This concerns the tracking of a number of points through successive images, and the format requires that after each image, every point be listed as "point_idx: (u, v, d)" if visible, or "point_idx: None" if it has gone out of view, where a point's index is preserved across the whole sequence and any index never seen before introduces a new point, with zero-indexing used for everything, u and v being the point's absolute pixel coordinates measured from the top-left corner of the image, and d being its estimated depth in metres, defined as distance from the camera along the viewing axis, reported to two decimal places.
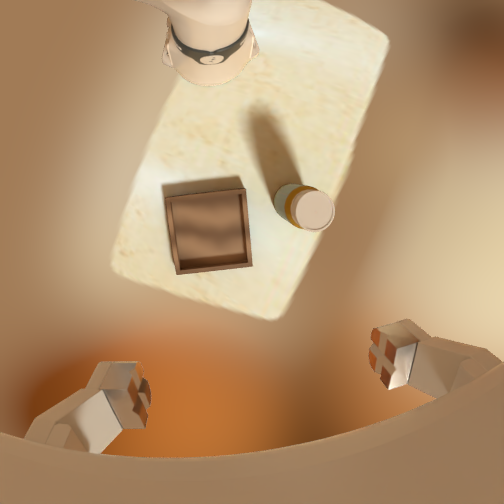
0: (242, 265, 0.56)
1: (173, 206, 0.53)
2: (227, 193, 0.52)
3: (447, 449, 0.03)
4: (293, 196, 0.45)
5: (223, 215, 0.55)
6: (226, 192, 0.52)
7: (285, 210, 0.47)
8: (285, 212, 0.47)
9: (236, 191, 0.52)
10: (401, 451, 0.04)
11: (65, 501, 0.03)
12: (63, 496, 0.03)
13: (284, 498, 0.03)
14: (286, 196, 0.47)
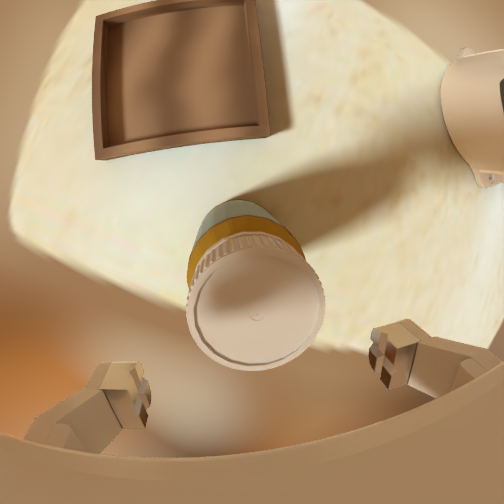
0: (97, 137, 0.21)
1: (233, 7, 0.20)
2: (260, 95, 0.21)
3: (447, 449, 0.03)
4: (285, 238, 0.15)
5: (208, 93, 0.22)
6: (262, 93, 0.21)
7: (238, 218, 0.16)
8: (232, 218, 0.16)
9: (264, 114, 0.22)
10: (401, 451, 0.04)
11: (65, 501, 0.03)
12: (63, 496, 0.03)
13: (284, 498, 0.03)
14: (274, 220, 0.17)
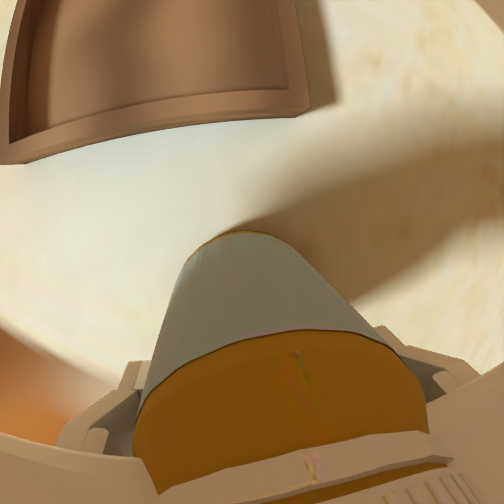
0: (3, 126, 0.09)
1: None
2: (289, 37, 0.10)
3: None
4: (416, 411, 0.04)
5: (192, 37, 0.11)
6: (293, 34, 0.10)
7: (271, 348, 0.05)
8: (248, 346, 0.05)
9: (298, 70, 0.10)
10: None
11: (65, 501, 0.03)
12: (63, 496, 0.03)
13: None
14: (361, 325, 0.06)
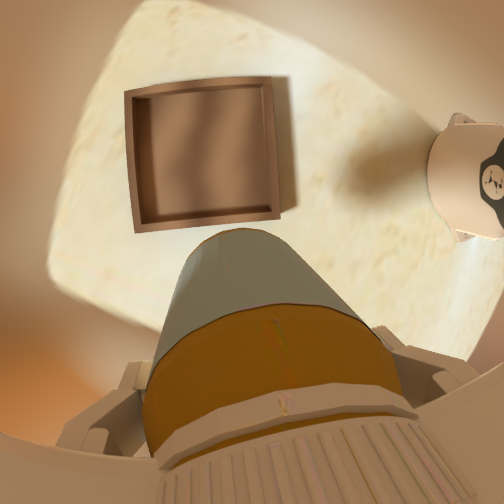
0: (136, 214, 0.27)
1: (250, 90, 0.27)
2: (273, 185, 0.28)
3: (447, 449, 0.03)
4: (382, 372, 0.05)
5: (229, 177, 0.29)
6: (275, 184, 0.28)
7: (255, 317, 0.06)
8: (238, 317, 0.06)
9: (276, 202, 0.29)
10: None
11: (65, 501, 0.03)
12: (63, 496, 0.03)
13: None
14: (336, 303, 0.07)
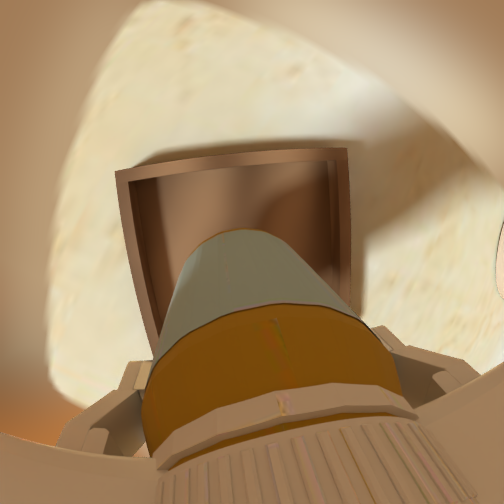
0: None
1: (313, 164, 0.19)
2: None
3: (447, 449, 0.03)
4: (381, 372, 0.05)
5: None
6: None
7: (254, 317, 0.06)
8: (237, 317, 0.06)
9: None
10: None
11: (65, 501, 0.03)
12: (63, 496, 0.03)
13: None
14: (336, 303, 0.07)
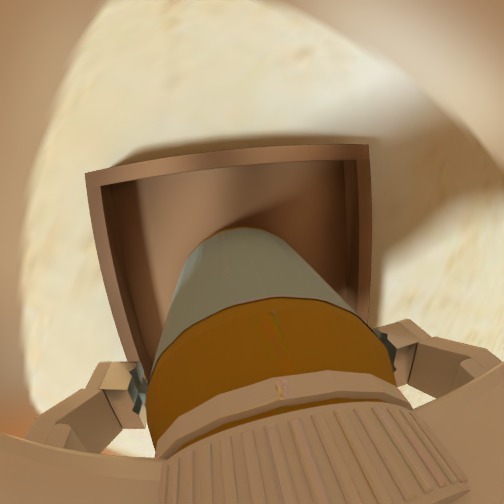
0: None
1: (326, 164, 0.16)
2: None
3: (447, 449, 0.03)
4: (374, 362, 0.05)
5: None
6: None
7: (254, 310, 0.06)
8: (237, 310, 0.06)
9: None
10: None
11: (65, 501, 0.03)
12: (63, 496, 0.03)
13: None
14: (332, 297, 0.07)
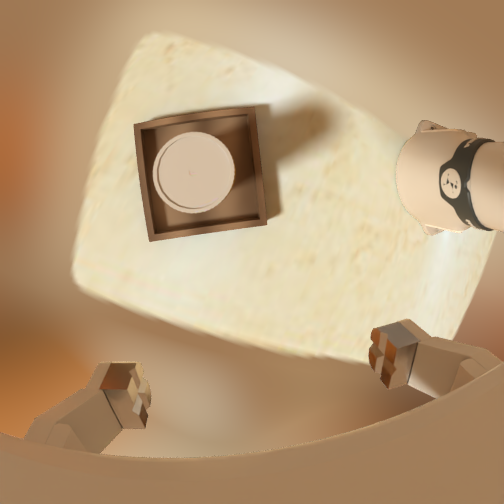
0: (149, 226, 0.34)
1: (238, 118, 0.34)
2: (260, 198, 0.35)
3: (447, 449, 0.03)
4: None
5: None
6: (262, 196, 0.35)
7: None
8: None
9: (263, 211, 0.36)
10: (401, 452, 0.04)
11: (65, 501, 0.03)
12: (63, 496, 0.03)
13: (284, 498, 0.03)
14: None
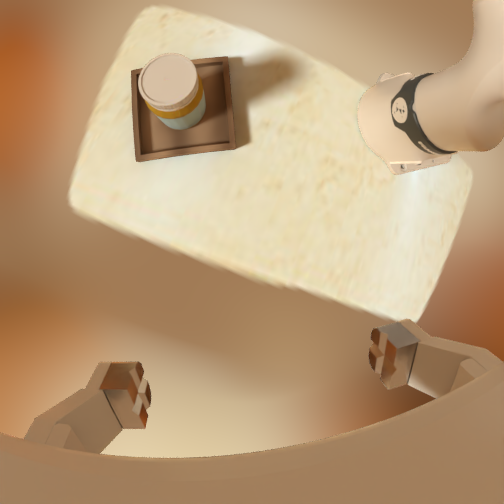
0: (137, 148, 0.38)
1: (215, 67, 0.38)
2: (230, 125, 0.39)
3: (447, 449, 0.03)
4: None
5: (201, 123, 0.40)
6: (231, 124, 0.39)
7: None
8: None
9: (232, 136, 0.40)
10: (401, 452, 0.04)
11: (65, 501, 0.03)
12: (63, 496, 0.03)
13: (284, 498, 0.03)
14: None
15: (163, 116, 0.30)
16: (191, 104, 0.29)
